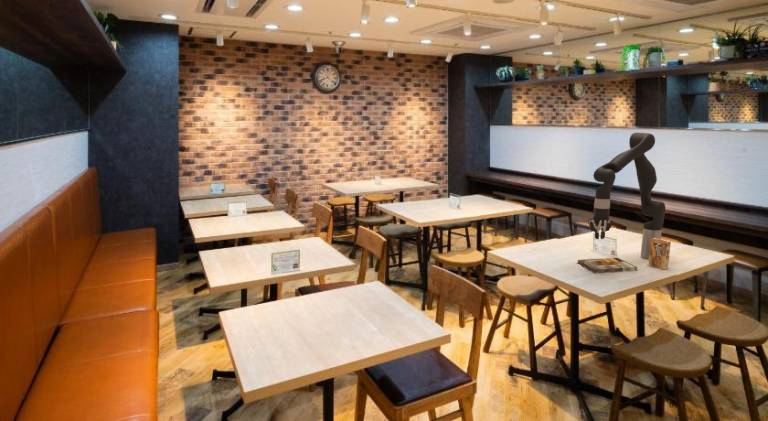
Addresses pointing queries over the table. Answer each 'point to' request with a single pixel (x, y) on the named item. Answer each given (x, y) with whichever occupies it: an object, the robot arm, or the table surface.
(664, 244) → the candy box
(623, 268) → the compartment board
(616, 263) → the ochre block
